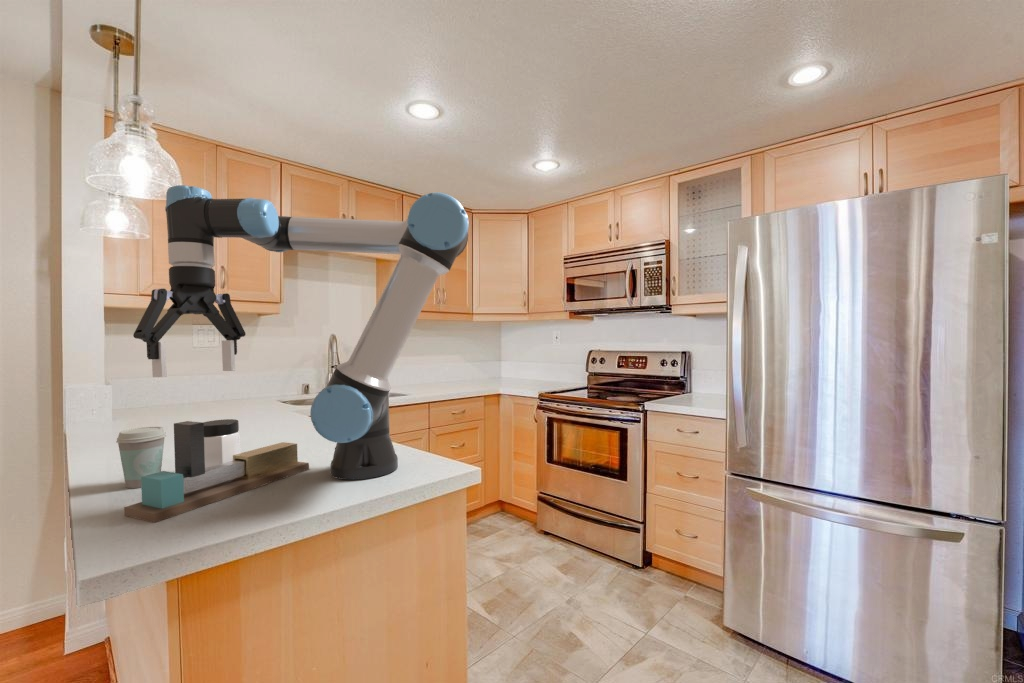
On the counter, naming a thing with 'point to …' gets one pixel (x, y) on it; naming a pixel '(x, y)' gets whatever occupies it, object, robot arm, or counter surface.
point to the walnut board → (210, 494)
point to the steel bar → (200, 459)
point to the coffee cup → (140, 453)
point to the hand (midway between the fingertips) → (196, 373)
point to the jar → (221, 441)
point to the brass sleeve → (268, 459)
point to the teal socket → (162, 489)
